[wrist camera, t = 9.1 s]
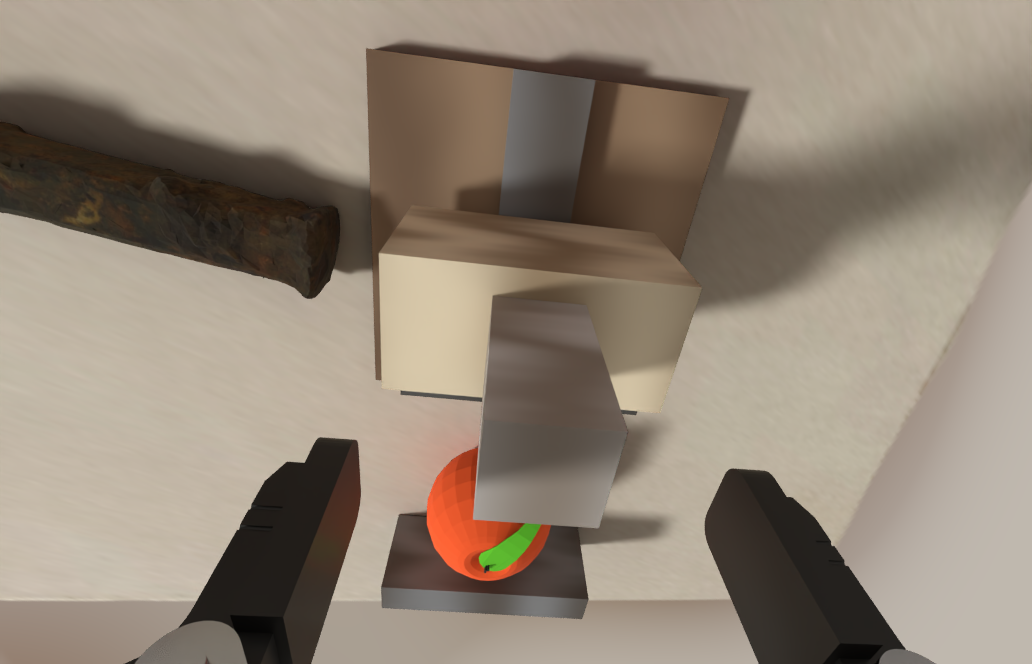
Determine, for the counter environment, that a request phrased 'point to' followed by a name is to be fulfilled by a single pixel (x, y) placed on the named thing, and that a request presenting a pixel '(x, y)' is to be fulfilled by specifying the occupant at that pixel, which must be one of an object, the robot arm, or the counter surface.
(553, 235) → the jaw
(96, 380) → the counter surface
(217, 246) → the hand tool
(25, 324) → the counter surface
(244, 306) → the counter surface
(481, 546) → the clementine
